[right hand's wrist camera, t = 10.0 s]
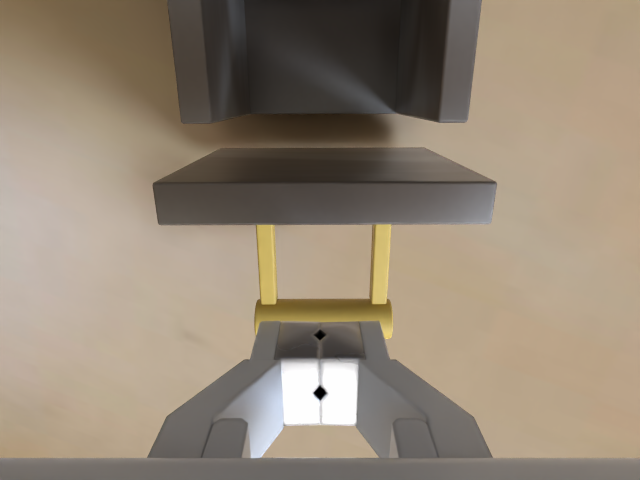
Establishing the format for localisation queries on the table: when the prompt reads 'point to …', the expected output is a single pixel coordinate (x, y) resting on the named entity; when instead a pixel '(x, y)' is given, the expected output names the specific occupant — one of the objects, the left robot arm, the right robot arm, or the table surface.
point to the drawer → (324, 98)
